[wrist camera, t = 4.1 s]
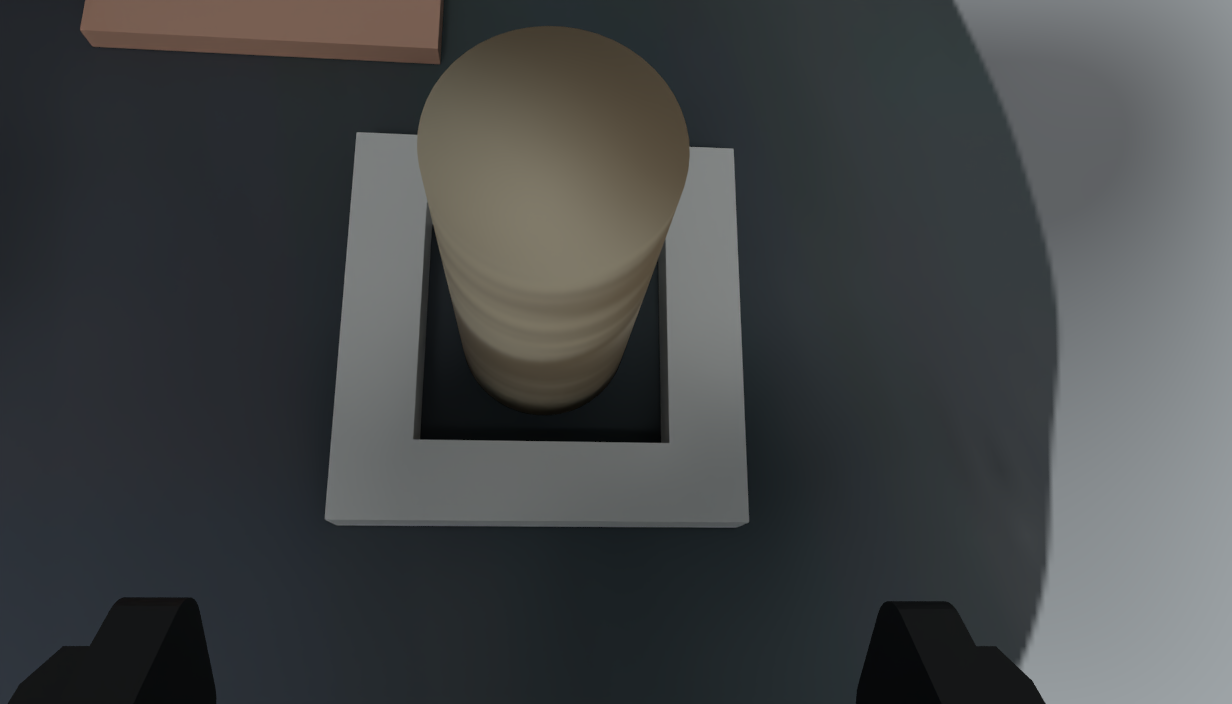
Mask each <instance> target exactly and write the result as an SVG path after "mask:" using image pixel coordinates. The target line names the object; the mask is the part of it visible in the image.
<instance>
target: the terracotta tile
mask: <svg viewBox="0 0 1232 704" xmlns="http://www.w3.org/2000/svg"><path fill="white" fill-rule="evenodd" d="M443 6H444V0H85V5H84V11H83V16H82V22H81V27H80V31H81V32H82V33H83V35H84V36H85V37H86V39H87V40H88V41H89V43H90V44H91V45H92V46H93V47H108V48H128V49H148V50H168V51H187V52H207V53H227V54H247V55H266V56H286V57H306V58H326V59H345V60H365V61H385V62H405V63H424V64H440V60H441V42H442V24H443Z"/></svg>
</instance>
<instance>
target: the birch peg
mask: <svg viewBox="0 0 1232 704" xmlns="http://www.w3.org/2000/svg"><path fill="white" fill-rule="evenodd" d="M417 154H418V163H419V168H420V172H421V176H422V181H423V185H424V189H425V193H426V197H427V201H428V205H429V209H430V214H431V218H432V222H433V226H434V230H435V234H436V238H437V242H438V247H439V251H440V255H441V259H442V263H443V267H444V271H445V275H446V279H447V284H448V288H449V292H450V296H451V300H452V304H453V308H454V312H455V317H456V321H457V325H458V329H459V333H460V337H461V341H462V345H463V350H464V354H465V357H466V361H467V364H468V366H469V368H470V371H471V373H472V374H473V376H474V378H475V379H476V381H477V382H478V383H479V385H480V386H481V387H482V388H483V389H484V390H485V391H486V392H487V393H488V394H489V395H490V396H491V397H493V398H494V399H495V400H497V401H498V402H500V403H501V404H503V405H505V406H507V407H509V408H511V409H514V410H516V411H520V412H523V413H527V414H535V415H553V414H561V413H564V412H568V411H571V410H574V409H576V408H579V407H581V406H583V405H585V404H586V403H588V402H590V401H591V400H592V399H594V398H595V397H596V396H598V395H599V394H600V393H601V392H602V391H603V390H604V389H605V388H606V386H607V385H608V384H609V383H610V381H611V380H612V378H613V376H614V375H615V373H616V371H617V369H618V366H619V364H620V361H621V359H622V356H623V353H624V351H625V348H626V345H627V342H628V340H629V337H630V334H631V331H632V329H633V326H634V323H635V320H636V318H637V315H638V312H639V309H640V307H641V304H642V301H643V299H644V296H645V293H646V290H647V288H648V285H649V282H650V279H651V277H652V274H653V271H654V268H655V266H656V263H657V260H658V257H659V255H660V252H661V249H662V247H663V244H664V241H665V238H666V236H667V233H668V230H669V227H670V225H671V222H672V219H673V216H674V214H675V211H676V208H677V205H678V203H679V200H680V197H681V195H682V192H683V189H684V186H685V182H686V178H687V174H688V168H689V158H690V150H689V137H688V132H687V127H686V122H685V119H684V117H683V114H682V111H681V108H680V106H679V104H678V102H677V100H676V98H675V96H674V94H673V93H672V91H671V90H670V88H669V87H668V85H667V84H666V82H665V81H664V80H663V78H662V77H661V76H660V75H659V74H658V73H657V72H656V71H655V69H654V68H653V67H651V66H650V65H649V64H648V63H647V62H646V61H645V60H644V59H642V58H641V57H640V56H639V55H637V54H636V53H634V52H633V51H631V50H630V49H628V48H627V47H625V46H623V45H621V44H619V43H617V42H616V41H614V40H612V39H609V38H606V37H604V36H601V35H599V34H596V33H592V32H589V31H585V30H581V29H575V28H569V27H559V26H540V27H528V28H523V29H518V30H513V31H509V32H506V33H503V34H500V35H497V36H495V37H492V38H490V39H488V40H486V41H484V42H481V43H480V44H478V45H476V46H475V47H473V48H472V49H470V50H468V51H467V52H466V53H464V54H463V55H462V56H461V57H459V58H458V59H457V60H456V61H454V62H453V63H452V65H451V66H450V67H449V68H448V69H447V70H446V71H445V72H444V73H443V74H442V76H441V77H440V78H439V80H438V81H437V83H436V84H435V85H434V87H433V89H432V91H431V93H430V94H429V96H428V98H427V100H426V103H425V105H424V108H423V111H422V114H421V117H420V123H419V128H418V136H417Z"/></svg>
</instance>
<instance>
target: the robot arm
mask: <svg viewBox="0 0 1232 704" xmlns="http://www.w3.org/2000/svg"><path fill="white" fill-rule="evenodd" d="M8 704H216V690H215V684H214V679H213V674H212V669H211V664H210V659H209V654H208V650H207V645H206V640H205V635H204V630H203V625H202V620H201V615H200V611H199V607H198V604H197V602H196V601H195V600H194V599H193V598H130V597H124V598H121V599H119V600H118V601H117V602H116V603H115V604H114V605H113V606H112V608H111V610H110V611H109V613H108V615H107V616H106V618H105V620H104V622H103V624H102V625H101V627H100V629H99V631H98V632H97V634H96V636H95V638H94V640H93V641H92V643H91V645H90V646H63V647H62V648H61V649H60V650H58V651H57V652H56V653H55V654H54V655H53V656H52V657H50V658H49V659H48V660H47V661H46V662H45V663H44V664H42V665H41V666H40V667H39V668H38V669H37V670H36V671H34V672H33V673H32V674H31V675H30V676H29V677H28V678H26V679H25V680H24V681H23V682H22V683H21V684H20V685H19V686H18V688H17V690H16V691H15V693H14V694H13V696H12V698H11V699H10V701H9V702H8ZM856 704H1045V702H1044V701H1043V699H1042V697H1041V695H1040V693H1039V692H1038V690H1037V688H1036V686H1035V685H1034V683H1033V681H1032V680H1031V679H1029V677H1028V676H1027V675H1025V674H1024V673H1023V672H1022V671H1021V670H1020V669H1019V668H1018V667H1017V666H1016V665H1015V664H1014V663H1013V662H1012V661H1011V660H1010V659H1009V658H1007V657H1006V656H1005V655H1004V654H1003V653H1002V652H1001V651H1000V650H999V649H998V648H997V647H996V646H976V645H975V643H974V642H973V640H972V638H971V636H970V634H969V632H968V630H967V628H966V627H965V625H964V623H963V621H962V619H961V617H960V615H959V613H958V612H957V610H956V609H955V608H954V606H953V605H951V604H950V603H949V602H944V601H887V602H885V603H883V605H882V606H881V608H880V610H879V613H878V616H877V619H876V623H875V627H874V630H873V634H872V637H871V641H870V645H869V648H868V652H867V655H866V659H865V663H864V666H863V670H862V673H861V677H860V681H859V684H858V689H857V696H856Z"/></svg>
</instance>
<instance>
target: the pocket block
mask: <svg viewBox="0 0 1232 704" xmlns="http://www.w3.org/2000/svg"><path fill="white" fill-rule="evenodd" d="M417 136H418V135H408V134H385V133H362V132H357V134H356V146H355V159H354V171H353V183H352V195H351V207H350V219H349V231H348V243H347V255H346V267H345V279H344V291H343V303H342V315H341V327H340V339H339V352H338V364H337V376H336V388H335V400H334V412H333V424H332V436H331V448H330V460H329V472H328V484H327V496H326V508H325V520H326V521H329V522H331V523H333V524H335V525H357V526H529V527H701V528H737V527H739V526H742V525H744V524H746V523H749V506H748V482H747V458H746V434H745V410H744V387H743V363H742V339H741V315H740V291H739V267H738V243H737V220H736V196H735V172H734V149H728V148H705V147H689V150H690V158H689V168H688V174H687V178H686V182H685V186H684V189H683V192H682V195H681V197H680V200H679V203H678V205H677V208H676V211H675V214H674V216H673V219H672V222H671V225H670V227H669V230H668V233H667V236H666V238H665V241H664V244H663V247H662V249H661V252H660V255H659V257H658V282H659V343H660V404H661V443H627V442H556V441H486V440H420V432H421V414H422V396H423V378H424V361H425V343H426V325H427V307H428V289H429V272H430V254H431V236H432V224H433V222H432V218H431V214H430V209H429V205H428V201H427V197H426V193H425V189H424V185H423V181H422V176H421V172H420V168H419V163H418V154H417Z"/></svg>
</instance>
